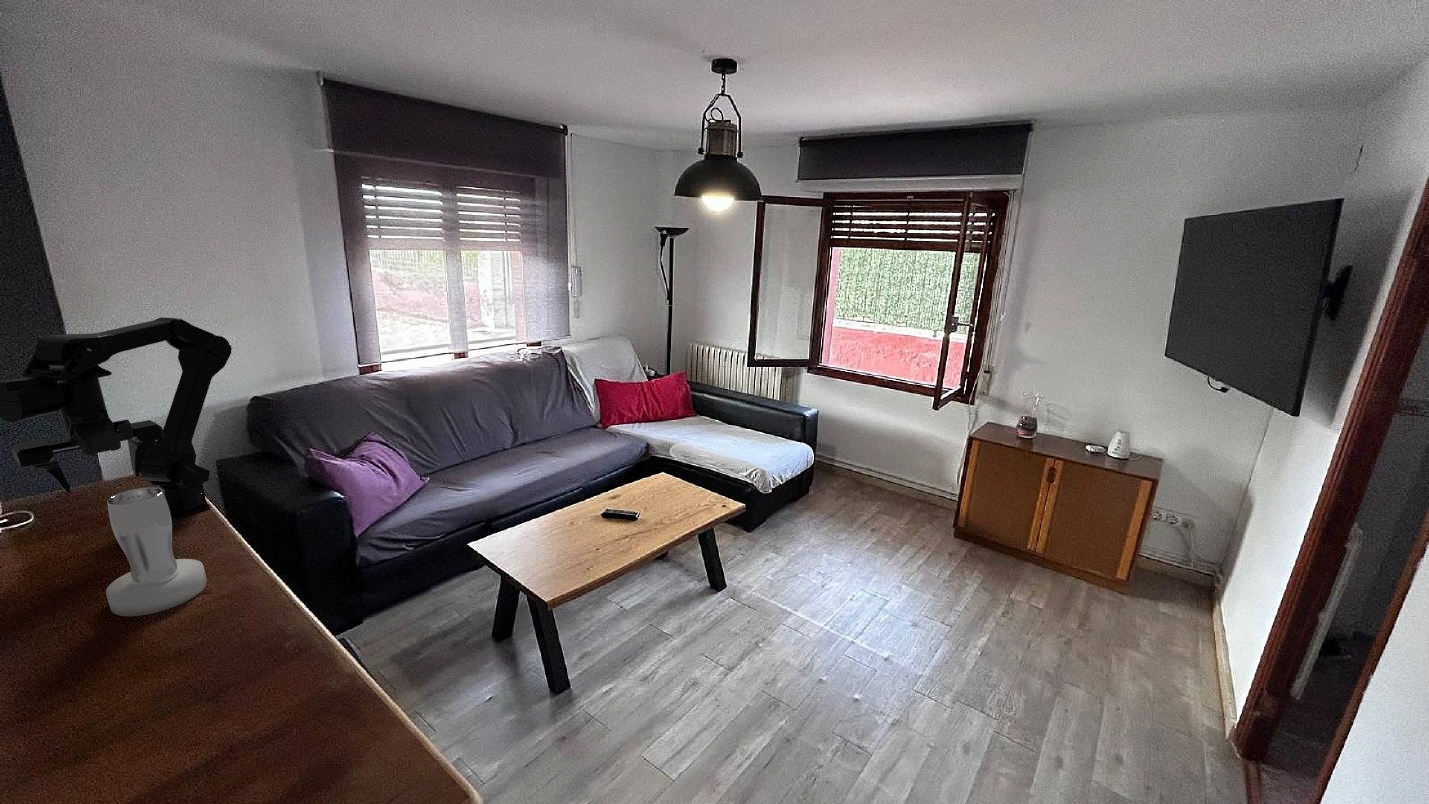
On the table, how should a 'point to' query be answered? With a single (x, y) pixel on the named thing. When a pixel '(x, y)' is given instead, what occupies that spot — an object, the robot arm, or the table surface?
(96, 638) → the table surface
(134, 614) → the cream stand
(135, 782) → the table surface
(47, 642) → the table surface
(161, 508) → the beer glass
